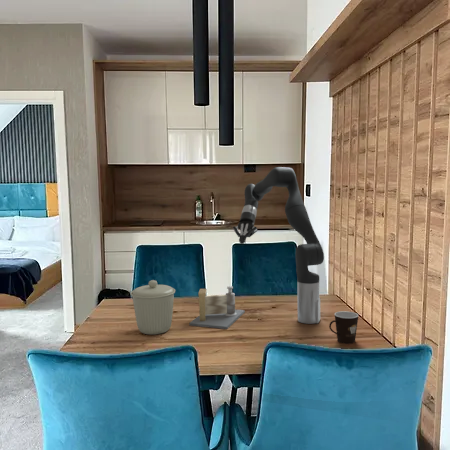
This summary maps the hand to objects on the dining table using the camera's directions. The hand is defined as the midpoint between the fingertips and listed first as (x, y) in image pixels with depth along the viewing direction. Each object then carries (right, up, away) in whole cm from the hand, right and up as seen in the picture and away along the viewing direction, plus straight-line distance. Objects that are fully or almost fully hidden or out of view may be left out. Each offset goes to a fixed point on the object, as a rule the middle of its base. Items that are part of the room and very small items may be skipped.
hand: (241, 242), depth 221 cm
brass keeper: (-18, -33, -24) cm, 44 cm away
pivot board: (-11, -33, -22) cm, 41 cm away
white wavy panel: (-11, -31, -21) cm, 39 cm away
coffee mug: (+36, -35, -52) cm, 72 cm away
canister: (-37, -35, -36) cm, 62 cm away
